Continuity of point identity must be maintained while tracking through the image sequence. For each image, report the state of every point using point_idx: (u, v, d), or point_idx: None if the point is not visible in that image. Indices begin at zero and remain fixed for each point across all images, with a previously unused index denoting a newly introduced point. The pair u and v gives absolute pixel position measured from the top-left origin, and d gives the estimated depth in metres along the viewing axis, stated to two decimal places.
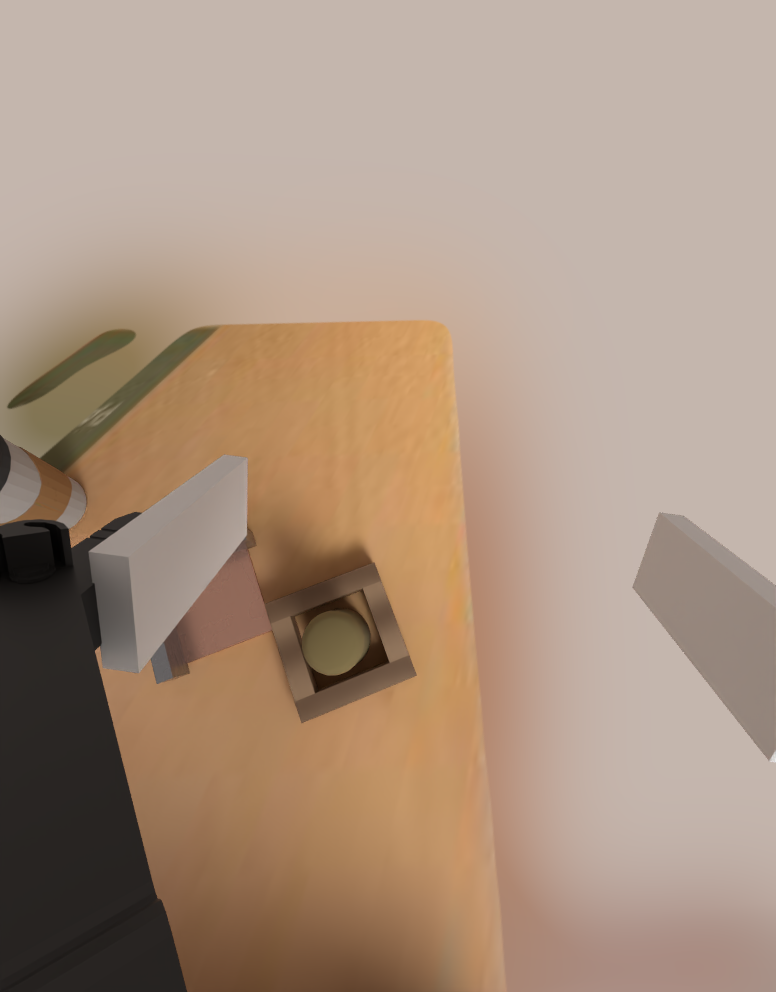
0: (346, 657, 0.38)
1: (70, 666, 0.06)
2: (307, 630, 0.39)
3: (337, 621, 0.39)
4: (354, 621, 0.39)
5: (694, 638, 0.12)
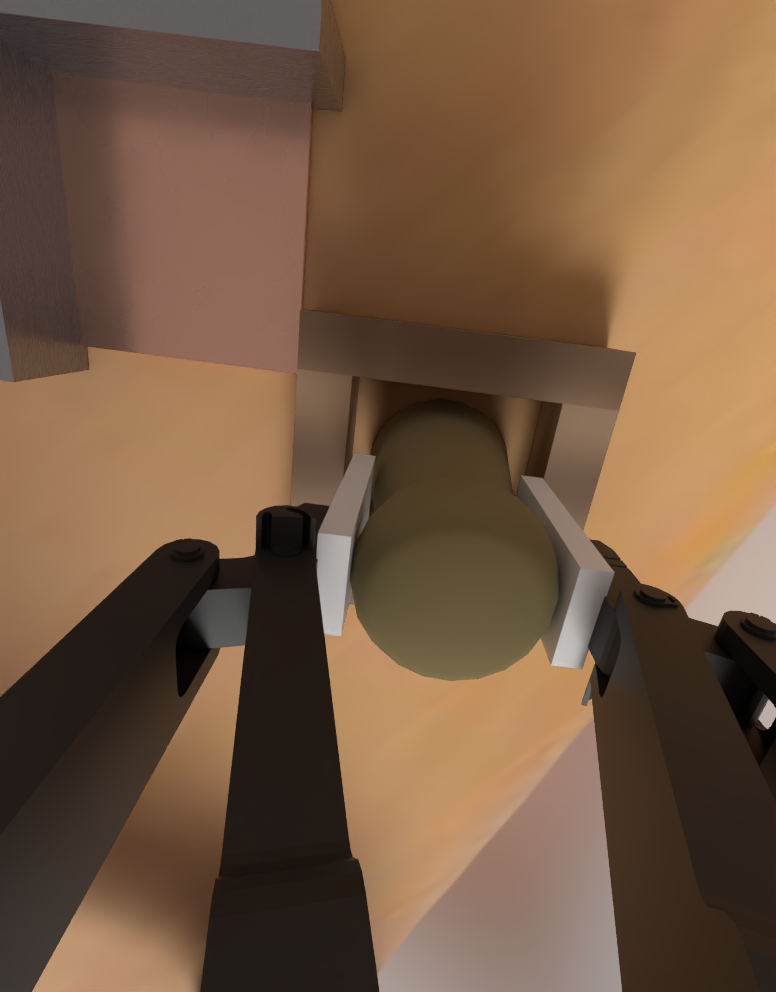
0: (477, 668, 0.11)
1: (304, 632, 0.08)
2: (398, 529, 0.10)
3: (514, 561, 0.10)
4: None
5: None
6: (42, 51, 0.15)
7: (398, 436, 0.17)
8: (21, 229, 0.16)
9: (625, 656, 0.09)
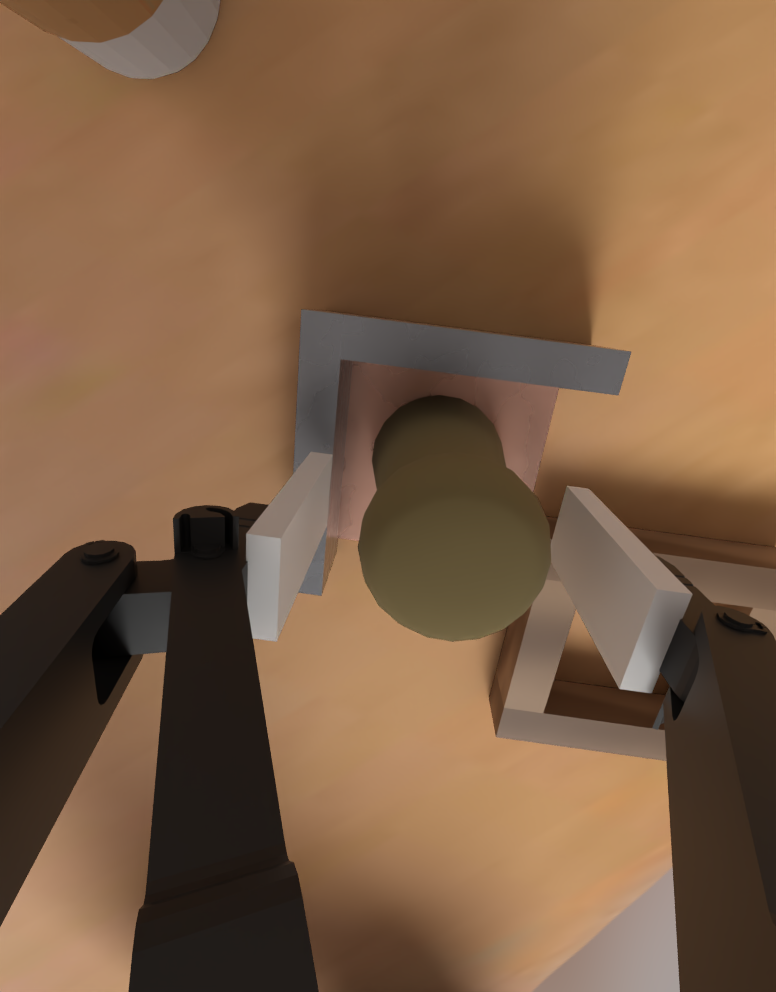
0: (477, 627, 0.12)
1: (230, 636, 0.07)
2: (404, 496, 0.11)
3: (509, 523, 0.11)
4: None
5: (582, 593, 0.14)
6: None
7: (399, 427, 0.19)
8: (335, 480, 0.20)
9: (703, 678, 0.08)
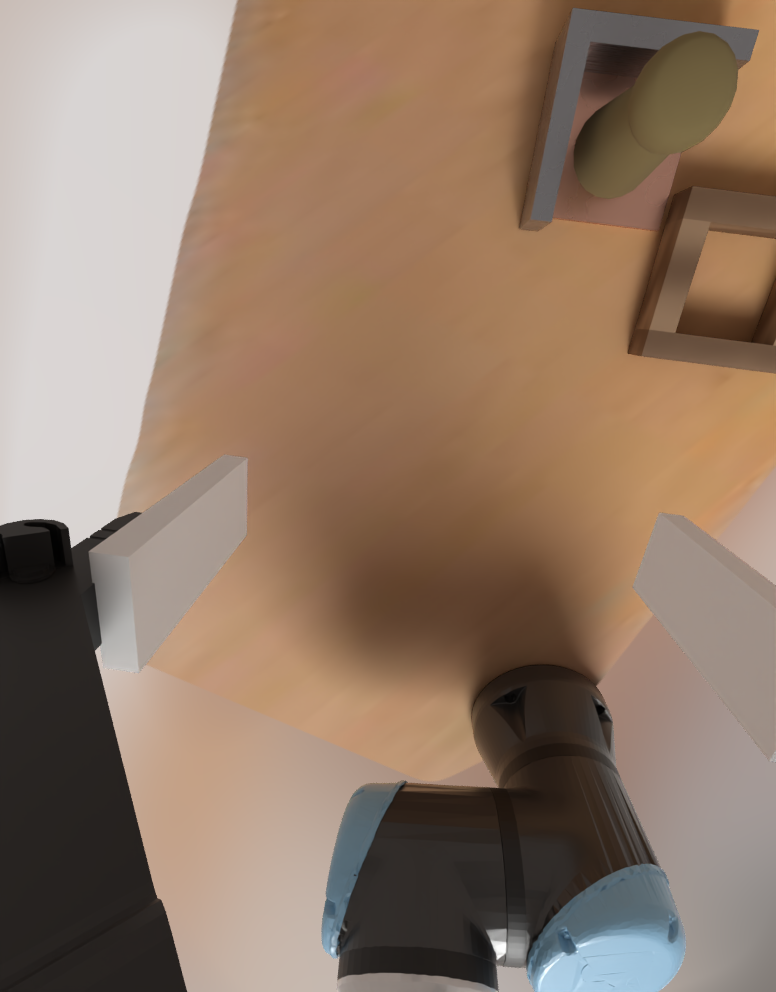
0: (700, 119, 0.25)
1: (70, 667, 0.06)
2: (673, 44, 0.24)
3: (725, 51, 0.24)
4: (737, 74, 0.25)
5: (694, 638, 0.12)
6: (593, 60, 0.32)
7: None
8: None
9: None
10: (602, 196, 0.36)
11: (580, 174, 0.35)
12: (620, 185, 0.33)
